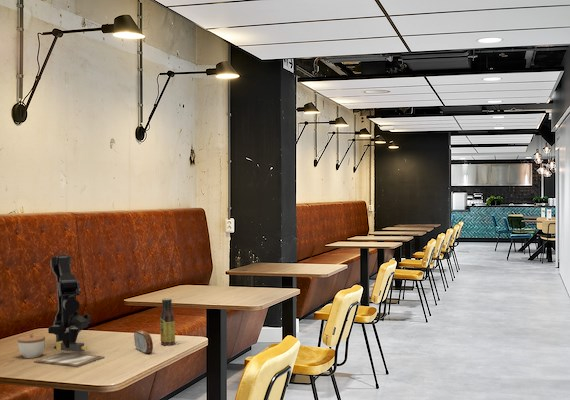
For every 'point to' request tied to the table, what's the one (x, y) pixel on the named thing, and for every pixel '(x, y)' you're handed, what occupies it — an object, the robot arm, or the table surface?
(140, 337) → the tin
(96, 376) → the table surface
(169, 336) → the sauce bottle
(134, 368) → the table surface
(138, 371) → the table surface
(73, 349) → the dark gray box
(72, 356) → the writing board
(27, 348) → the lidded jar
